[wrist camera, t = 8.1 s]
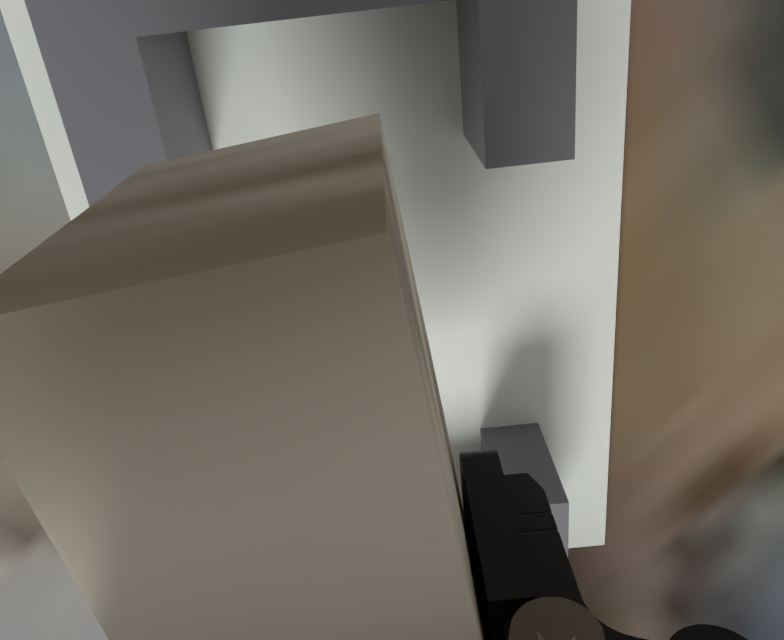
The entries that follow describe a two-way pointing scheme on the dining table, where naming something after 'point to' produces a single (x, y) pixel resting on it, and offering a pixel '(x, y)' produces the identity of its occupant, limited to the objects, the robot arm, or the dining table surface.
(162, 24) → the cradle
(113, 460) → the slat
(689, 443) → the dining table surface
